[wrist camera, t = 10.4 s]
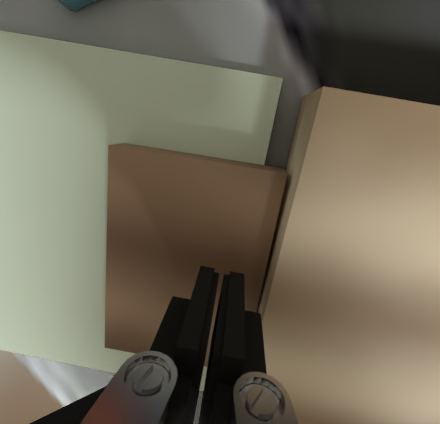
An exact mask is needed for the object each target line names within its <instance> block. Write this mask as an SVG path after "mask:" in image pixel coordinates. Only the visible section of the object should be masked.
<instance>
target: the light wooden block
mask: <svg viewBox="0 0 440 424" xmlns="http://www.w3.org/2000/svg"><path fill="white" fill-rule="evenodd" d="M285 171H286V173H287V178H286V183H285V187H284V191H283V196H282V200H281V205H280V209H279V214H278V218H277V222H276V227H275V231H274V236H273V240H272V245H271V249H270V254H269V258H268V262H267V267H266V271H265V276H264V280H263V285H262V289H261V293H260V298H259V302H258V307H257V311H256V312H257V313H260V314H261V319H262V330H263V340H264V351H265V361H266V372H267V375H270V376H272V377H273V378H275V379H276V380H277V381H279V382H280V383H281V384H282V386H283V387H284V388H285V389H286V391H287V393H288V395H289V397H290V399H291V402H292V405H293V408H294V411H295V414H296V417H297V421H298V424H440V106H437V105H431V104H426V103H420V102H414V101H408V100H402V99H396V98H390V97H384V96H378V95H372V94H366V93H360V92H354V91H349V90H343V89H337V88H331V87H325V86H323V87H321V88H319V89H317V90H315V91H313V92H311V93H309V94H308V95H306V96H304V97H303V99H302V103H301V107H300V111H299V115H298V119H297V124H296V128H295V132H294V136H293V140H292V144H291V148H290V153H289V157H288V161H287V165H286V169H285Z"/></svg>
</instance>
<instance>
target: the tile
mask: <svg viewBox="0 0 440 424" xmlns="http://www.w3.org/2000/svg"><path fill="white" fill-rule="evenodd" d="M286 178H287V173H286V171H285V170H284V169H283V168H279V167H273V166H267V165H260V164H254V163H248V162H241V161H235V160H229V159H222V158H216V157H210V156H204V155H197V154H191V153H185V152H178V151H172V150H166V149H160V148H153V147H147V146H141V145H134V144H128V143H120V144H112V145H108V191H107V244H106V296H105V348H109V349H114V350H120V351H125V352H131V353H136V354H137V353H140V352H143V351H149V350H150V348H151V346H152V343H153V341H154V338H155V336H156V334H157V331H158V329H159V327H160V324H161V322H162V320H163V317H164V315H165V312H166V310H167V308H168V305H169V303H170V301H171V298H172V297H173V296H175V297H180V298H186V299H191V295H192V292H193V289H194V286H195V283H196V279H197V276H198V273H199V270H200V266H206V267H211V268H215V270H214V272H217V273H220V274H219V280H218V286H217V292H216V298H215V304H214V310H213V316H212V322H211V328H210V334H209V340H208V346H207V352H206V357H205V363H204V366H205V367H207V365H208V359H209V352H210V345H211V339H212V333H213V328H214V323H215V318H216V312H217V307H218V302H219V297H220V292H221V287H222V282H223V276H224V274H228V275H229V274H230V271H232V272H238V273H243V274H244V275H245V310H247V311H252V312H256V311H257V307H258V302H259V298H260V293H261V289H262V285H263V280H264V276H265V271H266V267H267V262H268V258H269V254H270V249H271V245H272V240H273V236H274V231H275V227H276V222H277V218H278V214H279V209H280V205H281V200H282V196H283V191H284V187H285V183H286Z"/></svg>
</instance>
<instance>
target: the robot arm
mask: <svg viewBox="0 0 440 424" xmlns="http://www.w3.org/2000/svg"><path fill="white" fill-rule="evenodd" d="M214 270H215V268H211V267H206V266H200V270H199V273H198V276H197V279H196V283H195V286H194V289H193V292H192V295H191V299H186V298H180V297H175V296H173V297H172V298H171V301H170V303H169V305H168V308H167V310H166V312H165V315H164V317H163V320H162V322H161V324H160V327H159V329H158V331H157V334H156V336H155V338H154V341H153V343H152V346H151V348H150V350H149V351H143V352H140V353H137V354H135V355H133V356H131V357H130V358H128V359H127V360H126V361H125V362H124V363H123V364H122V366H121V367H120V368H119V370H118V371H117V373H116V374H115V375H114V377H113V378H112V380H111V381H110V382H109V384H108V385H107V386H106V387H104V388H102V389H100V390H98V391H96V392H94V393H92V394H89V395H87V396H85V397H83V398H81V399H79V400H77V401H75V402H73V403H71V404H69V405H67V406H65V407H63V408H61V409H59V410H57V411H55V412H53V413H51V414H49V415H47V416H44V417H42V418H40V419H38V420H36V421H34V422H32V423H30V424H193V420H194V415H195V410H196V405H197V399H198V394H199V389H200V384H201V379H202V373H203V368H204V363H205V357H206V352H207V346H208V340H209V334H210V328H211V322H212V316H213V310H214V304H215V298H216V292H217V286H218V280H219V274H220V273H217V272H214ZM199 424H298V421H297V417H296V414H295V411H294V408H293V405H292V402H291V399H290V397H289V395H288V393H287V391H286V389H285V388H284V387H283V386H282V384H281V383H280V382H279V381H277V380H276V379H275V378H273V377H272V376H270V375H267V372H266V361H265V351H264V340H263V330H262V319H261V314H260V313H257V312H252V311H247V310H245V275H244V274H243V273H238V272H232V271H230V274H229V275H228V274H224V276H223V282H222V287H221V292H220V297H219V302H218V307H217V312H216V318H215V323H214V328H213V333H212V339H211V345H210V352H209V359H208V365H207V372H206V378H205V385H204V391H203V398H202V405H201V411H200V418H199Z"/></svg>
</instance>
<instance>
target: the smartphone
mask: <svg viewBox="0 0 440 424" xmlns="http://www.w3.org/2000/svg"><path fill="white" fill-rule="evenodd" d="M59 1H60V2H61V3H62V4H63V5H64V6H65V7H67V8H68V9H70V10H72V11H76V10H78V9H80V8H82V7H84V6H86V5H88V4H91V3H93V2H95V1H97V0H59Z"/></svg>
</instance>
